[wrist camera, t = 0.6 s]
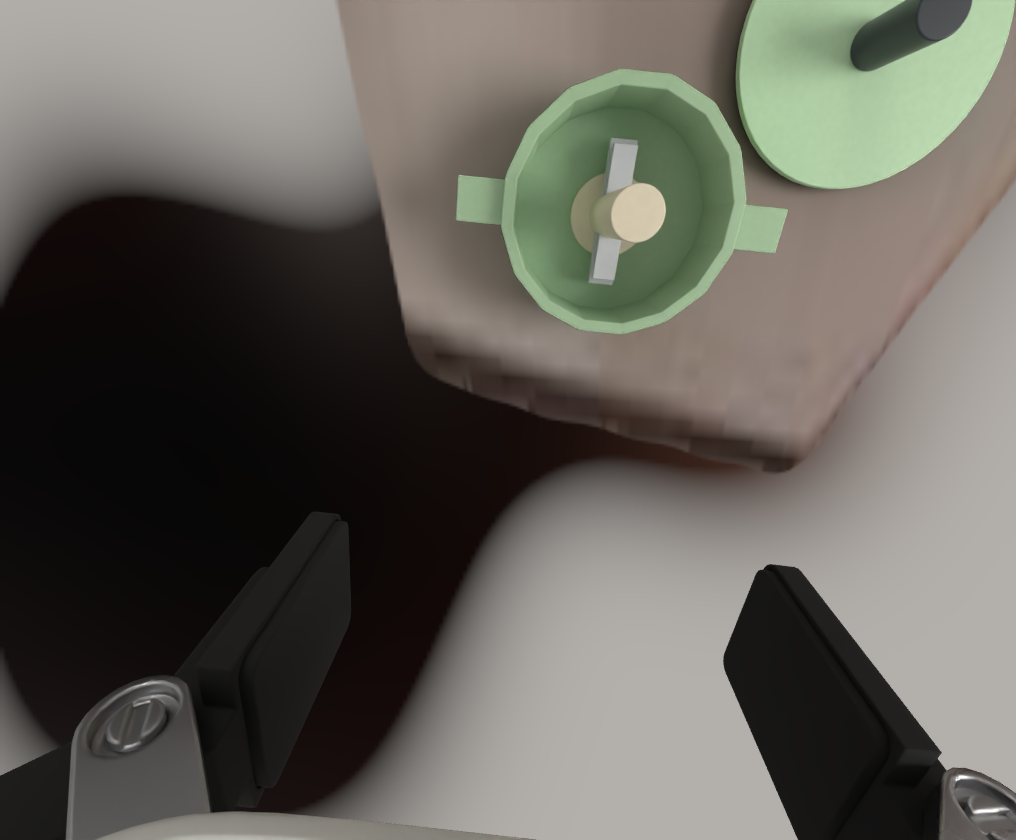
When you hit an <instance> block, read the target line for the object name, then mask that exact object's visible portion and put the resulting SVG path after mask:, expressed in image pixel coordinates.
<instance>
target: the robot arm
mask: <svg viewBox="0 0 1016 840" xmlns="http://www.w3.org/2000/svg"><path fill="white" fill-rule="evenodd" d="M349 567H350V566H349V538H348V524H347V522H344V521H341V518H340V516H339V515H338V514H331V513H323V512H312V513H311V514H310V515H309V516H308V518H307V519H306V520H305V522H304V523H303V524H302V525H301V527H300V528H299V529H298V531H297V532H296V533H295V535H294V536H293V537H292V538H291V540H290V541H289V542H288V544H287V545H286V546H285V548H284V549H283V550H282V552H281V553H280V554H279V556H278V557H277V558H276V560H275V561H274V562H273V563H272V565H271V566H270V567H269V568H268V567H263V568H261V569H259V570H258V571H257V572H256V573H255V574H254V575H253V576H252V577H251V579H250V580H249V581H248V583H247V584H246V585H245V586H244V588H243V589H242V590H241V592H240V593H239V594H238V595H237V597H236V598H235V599H234V600H233V602H232V603H231V604H230V605H229V607H228V608H227V609H226V611H225V612H224V613H223V614H222V616H221V617H220V618H219V619H218V621H217V622H216V623H215V624H214V626H213V627H212V628H211V629H210V631H209V632H208V633H207V635H206V636H205V637H204V638H203V640H202V641H201V642H200V643H199V645H198V646H197V647H196V648H195V650H194V651H193V652H192V653H191V655H190V656H189V657H188V659H187V660H186V661H185V662H184V664H183V665H182V666H181V667H180V669H179V670H178V671H177V673H176V674H175V675H174V676H173V677H172V676H167V675H162V676H150V677H147V678H143V679H140V680H136V681H133V682H131V683H129V684H127V685H125V686H123V687H121V688H119V689H117V690H115V691H113V692H112V693H111V694H109V695H108V696H106V697H105V698H104V699H102V700H101V701H99V702H98V703H97V704H96V705H95V706H94V707H93V708H92V709H91V710H90V711H89V712H88V713H87V714H86V715H85V717H84V718H83V720H82V721H81V723H80V724H79V726H78V727H77V729H76V731H75V734H74V738H73V741H72V742H70V743H68V744H66V745H64V746H62V747H60V748H58V749H56V750H53V751H51V752H49V753H47V754H45V755H43V756H41V757H39V758H36V759H35V760H32V761H30V762H28V763H26V764H24V765H22V766H20V767H18V768H16V769H13V770H12V771H10V772H7V773H5V774H3V775H1V776H0V840H534V839H525V838H516V837H508V836H499V835H490V834H480V833H471V832H462V831H453V830H444V829H435V828H426V827H417V826H408V825H399V824H390V823H381V822H372V821H361V820H349V819H339V818H327V817H315V816H305V815H294V814H283V813H258V812H233V811H234V809H235V807H236V806H242V807H250V808H256V806H257V804H258V802H259V800H260V797H261V795H262V793H263V791H264V789H265V787H269V788H272V787H274V786H275V784H276V783H277V781H278V779H279V777H280V775H281V773H282V770H283V768H284V766H285V764H286V762H287V759H288V757H289V755H290V753H291V751H292V748H293V746H294V744H295V742H296V740H297V737H298V735H299V733H300V731H301V729H302V727H303V724H304V722H305V720H306V718H307V716H308V713H309V711H310V709H311V707H312V705H313V702H314V700H315V698H316V696H317V693H318V691H319V689H320V687H321V685H322V683H323V680H324V678H325V676H326V674H327V672H328V669H329V667H330V665H331V663H332V661H333V658H334V656H335V654H336V652H337V650H338V647H339V645H340V643H341V641H342V639H343V636H344V634H345V632H346V630H347V627H348V624H349V621H350V616H351V595H350V568H349ZM723 662H724V669H725V672H726V675H727V677H728V679H729V681H730V684H731V686H732V688H733V690H734V693H735V695H736V698H737V700H738V702H739V704H740V707H741V709H742V712H743V714H744V716H745V718H746V721H747V723H748V725H749V728H750V729H751V732H752V735H753V737H754V739H755V742H756V744H757V746H758V749H759V751H760V753H761V755H762V758H763V760H764V762H765V765H766V767H767V769H768V772H769V774H770V776H771V778H772V781H773V783H774V785H775V788H776V790H777V792H778V795H779V797H780V799H781V802H782V804H783V806H784V808H785V811H786V813H787V816H788V818H789V820H790V822H791V825H792V827H793V829H794V832H795V834H796V836H797V838H798V840H1016V793H1014V792H1013V791H1012V790H1010V789H1009V788H1007V787H1006V786H1004V785H1003V784H1001V783H1000V782H998V781H996V780H994V779H992V778H990V777H988V776H986V775H984V774H982V773H980V772H976V771H973V770H970V769H967V768H951V769H949V770H947V771H946V769H945V768H944V767H943V765H942V764H941V763H940V761H939V760H938V759H937V758H938V757H939V756H940V754H941V751H940V750H939V749H938V747H937V746H936V745H935V743H934V742H933V741H932V740H931V738H930V737H929V736H928V734H927V733H926V732H925V731H924V729H923V728H922V727H921V726H920V724H919V723H918V722H917V720H916V719H915V718H914V717H913V715H912V714H911V713H910V711H909V710H908V709H907V707H906V706H905V705H904V704H903V702H902V701H901V700H900V698H899V697H898V696H897V695H896V693H895V692H894V691H893V689H892V688H891V687H890V685H889V684H888V683H887V682H886V681H885V679H884V678H883V677H882V675H881V674H880V673H879V671H878V670H877V669H876V667H875V666H874V665H873V664H872V662H871V661H870V660H869V658H868V657H867V656H866V655H865V653H864V652H863V651H862V649H861V648H860V647H859V645H858V644H857V643H856V642H855V640H854V639H853V638H852V636H851V635H850V634H849V633H848V631H847V630H846V629H845V627H844V626H843V625H842V624H841V622H840V621H839V620H838V618H837V617H836V616H835V615H834V613H833V612H832V611H831V610H830V608H829V607H828V605H827V604H826V603H825V602H824V600H823V599H822V598H821V596H820V595H819V594H818V593H817V591H816V590H815V589H814V587H813V586H812V585H811V584H810V582H809V581H808V580H807V578H806V577H805V576H804V575H803V573H802V572H801V571H800V570H799V569H798V568H795V567H788V566H780V565H772V564H770V565H767V566H766V567H765V568H764V569H763V570H759V571H758V572H757V573H756V575H755V578H754V581H753V583H752V585H751V588H750V591H749V593H748V595H747V598H746V601H745V603H744V606H743V608H742V610H741V613H740V615H739V618H738V621H737V623H736V626H735V628H734V631H733V633H732V636H731V638H730V641H729V643H728V646H727V648H726V651H725V653H724V660H723Z"/></svg>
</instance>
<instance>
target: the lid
mask: <svg viewBox="0 0 1016 840" xmlns="http://www.w3.org/2000/svg"><path fill="white" fill-rule="evenodd" d="M1014 5H1015V0H753V1H752V4H751V6H750V9H749V11H748V14H747V16H746V20H745V23H744V27H743V30H742V33H741V37H740V43H739V48H738V54H737V63H736V96H737V102H738V108H739V113H740V116H741V120H742V123H743V126H744V129H745V131H746V133H747V135H748V138H749V140H750V142H751V144H752V145H753V147H754V148H755V150H756V151H757V153H758V154H759V156H760V157H761V158H762V159H763V160H764V161H765V162H766V163H767V164H768V165H769V166H770V167H771V168H772V169H774V170H775V171H776V172H777V173H779V174H780V175H782V176H784V177H785V178H787V179H789V180H791V181H793V182H795V183H798V184H801V185H804V186H807V187H813V188H818V189H845V188H854V187H859V186H864V185H868V184H872V183H875V182H878V181H880V180H883V179H886V178H888V177H890V176H892V175H894V174H896V173H898V172H900V171H902V170H904V169H906V168H908V167H909V166H911V165H912V164H914V163H916V162H917V161H919V160H920V159H922V158H923V157H924V156H926V155H927V154H928V153H929V152H931V151H932V150H933V149H934V148H936V147H937V146H938V145H939V144H940V143H941V142H942V141H943V140H944V139H945V138H946V137H947V136H949V135H950V134H951V133H952V132H953V131H954V129H955V128H956V127H957V126H958V125H959V124H960V123H961V121H962V120H963V119H964V118H965V117H966V116H967V114H968V113H969V111H970V110H971V109H972V107H973V106H974V105H975V103H976V102H977V100H978V99H979V98H980V96H981V94H982V92H983V91H984V89H985V87H986V86H987V84H988V82H989V81H990V79H991V77H992V75H993V73H994V71H995V68H996V66H997V64H998V62H999V60H1000V57H1001V55H1002V52H1003V49H1004V46H1005V44H1006V41H1007V38H1008V34H1009V30H1010V26H1011V22H1012V18H1013V12H1014Z"/></svg>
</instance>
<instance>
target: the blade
mask: <svg viewBox="0 0 1016 840" xmlns="http://www.w3.org/2000/svg"><path fill="white" fill-rule="evenodd" d="M637 142H638V140H632V139H622V138H613V137H612V138H611V139H610V143H609V150H608V156H607V162H606V169H605V173H603V174H600V175H598V176H595V177H594V178H592V179H590V180H589V181H588V182H586V183H585V184H584V185H583V186H582V187H581V189H580V190H579V191H578V193H577V194H576V196H575V198H574V200H573V203H572V206H571V211H570V225H571V229H572V233H573V235H574V237H575V239H576V240H577V242H578V243H579V244H580V245H581V246H582V247H583V248H584V249H585V250H587V251H588V252H590V253H592V258H591V264H590V270H589V277H588V283H594V284H604V285H612V283H613V281H614V278H615V273H616V267H617V262H618V256H619V254H621V253H623V252H625V251H627V250H629V249H630V248H631V247H632V246H634V245H635V244H636V243H638V242H643V241H646V240H648V239H650V238H651V237H652V236H654V235H655V234H656V233H657V232H658V230H659V229H660V228H661V226H662V224H663V221H664V218H665V213H666V206H665V201H664V198H663V196H662V194H661V193H660V192H659V191H658V190H657V189H656V188H655V187H654V186H652V185H649V184H646V183H638V182H637V181H636V180H635V179H633V172H634V167H635V161H636V156H637V150H638V145H637Z"/></svg>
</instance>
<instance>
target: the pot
mask: <svg viewBox="0 0 1016 840" xmlns="http://www.w3.org/2000/svg"><path fill="white" fill-rule="evenodd" d="M612 137H613V138H622V139H632V140H638V142H637V145H638V150H637V156H636V161H635V167H634V172H633V179H635V180H636V181H637V182H638V183H646V184H649V185H652V186H654V187H655V188H656V189H657V190H658V191H659V192H660V193H661V194H662V196H663V198H664V201H665V206H666V213H665V218H664V221H663V224H662V226H661V228H660V229H659V230H658V232H657V233H656V234H655V235H654V236H652V237H651V238H650V239H648V240H646V241H643V242H638V243H636V244H635V245H634V246H632V247H631V248H630V249H629V250H627V251H625V252H623V253H621V254H619V256H618V262H617V267H616V273H615V278H614V281H613V283H612V285H604V284H594V283H588V277H589V270H590V264H591V258H592V253H590V252H588V251H587V250H585V249H584V248H583V247H582V246H581V245H580V244H579V243H578V242H577V240H576V239H575V237H574V235H573V233H572V229H571V225H570V211H571V206H572V203H573V200H574V198H575V196H576V194H577V193H578V191H579V190H580V189H581V187H582V186H583V185H584V184H585V183H586V182H588V181H589V180H590V179H592V178H594V177H595V176H598V175H600V174H603V173H605V169H606V162H607V156H608V150H609V143H610V139H611V138H612ZM787 212H788V209H782V208H772V207H763V206H753V205H746V191H745V181H744V171H743V162H742V152H741V149H740V145H739V144H738V142H737V140H736V138H735V137H734V135H733V133H732V131H731V129H730V128H729V126H728V124H727V122H726V121H725V119H724V117H723V115H722V114H721V112H720V110H719V108H718V106H717V105H716V104H715V102H714V101H712V100H711V99H709V98H708V97H706V96H705V95H703V94H702V93H700V92H699V91H698V90H696V89H695V88H693V87H692V86H690V85H689V84H687V83H686V82H684V81H683V80H681V79H680V78H678V77H677V76H675V75H673V74H669V73H659V72H650V71H640V70H630V69H617V70H614V71H612V72H609V73H606V74H604V75H601V76H598V77H596V78H593V79H590V80H587V81H585V82H582V83H579V84H577V85H574V86H571V87H570V88H568V89H567V90H566V91H565V92H564V93H563V94H562V95H560V96H559V97H558V98H557V99H556V100H555V101H554V102H553V103H552V104H551V105H550V106H549V107H548V108H547V109H546V110H545V111H544V112H543V113H542V114H541V115H540V116H539V117H537V118H536V119H535V120H534V121H533V122H532V123H531V124H530V125H529V127H528V128H527V130H526V132H525V134H524V137H523V139H522V141H521V143H520V145H519V147H518V149H517V151H516V154H515V156H514V158H513V160H512V162H511V164H510V166H509V169H508V171H507V173H506V176H505V180H504V179H494V178H484V177H475V176H465V175H458V188H457V209H456V220H457V221H465V222H475V223H484V224H494V225H501V231H502V234H503V238H504V241H505V244H506V248H507V251H508V255H509V258H510V262H511V265H512V269H513V272H514V274H515V276H516V277H517V279H518V280H519V281H520V282H521V284H522V285H523V286H524V287H525V289H526V290H527V291H528V293H529V294H530V295H531V296H532V298H533V299H534V300H535V302H536V303H537V304H538V305H539V307H540V308H541V309H542V310H544V311H545V312H547V313H549V314H551V315H553V316H554V317H556V318H558V319H560V320H562V321H563V322H565V323H567V324H569V325H571V326H573V327H574V328H576V329H578V330H583V331H593V332H602V333H612V334H625V333H629V332H633V331H636V330H640V329H643V328H647V327H650V326H654V325H657V324H661V323H664V322H666V321H668V320H669V319H670V318H672V317H673V316H675V315H676V314H677V313H679V312H680V311H681V310H683V309H684V308H686V307H687V306H688V305H690V304H691V303H692V302H694V301H695V300H696V299H698V298H699V297H701V296H702V295H703V294H704V293H705V292H706V291H707V289H708V288H709V286H710V285H711V283H712V282H713V280H714V279H715V278H716V276H717V275H718V273H719V272H720V270H721V269H722V267H723V266H724V264H725V263H726V262H727V260H728V259H729V257H730V256H731V254H732V253H733V250H743V251H752V252H762V253H771V254H774V253H775V251H776V248H777V245H778V241H779V238H780V235H781V231H782V228H783V225H784V221H785V218H786V215H787Z"/></svg>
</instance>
